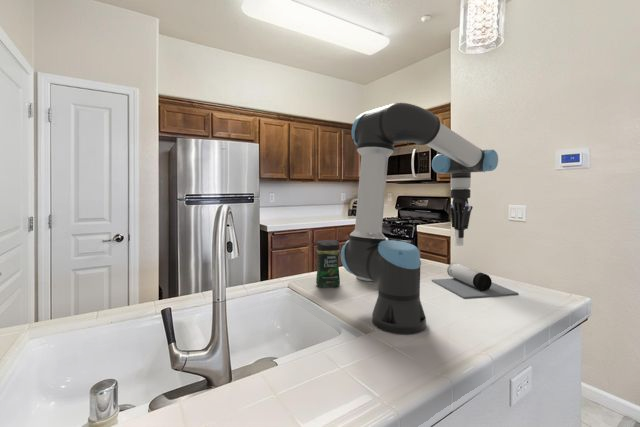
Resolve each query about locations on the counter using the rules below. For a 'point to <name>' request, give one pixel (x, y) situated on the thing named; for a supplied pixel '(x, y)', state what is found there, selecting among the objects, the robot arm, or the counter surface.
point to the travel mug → (469, 276)
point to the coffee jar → (328, 263)
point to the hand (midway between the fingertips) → (459, 245)
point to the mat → (472, 289)
